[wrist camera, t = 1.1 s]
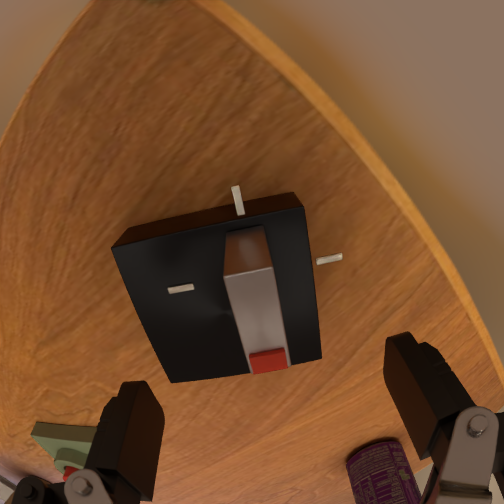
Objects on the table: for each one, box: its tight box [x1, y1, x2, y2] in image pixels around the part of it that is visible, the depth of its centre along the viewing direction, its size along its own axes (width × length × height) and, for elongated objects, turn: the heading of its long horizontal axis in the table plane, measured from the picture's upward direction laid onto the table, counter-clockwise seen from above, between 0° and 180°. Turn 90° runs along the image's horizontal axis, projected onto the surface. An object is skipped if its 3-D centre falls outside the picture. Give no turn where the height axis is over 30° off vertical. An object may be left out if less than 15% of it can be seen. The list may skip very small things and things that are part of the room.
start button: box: [63, 466, 79, 482], centre depth 24 cm, size 4×4×2 cm
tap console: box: [111, 185, 342, 383], centre depth 18 cm, size 12×12×3 cm
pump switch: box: [31, 422, 97, 475], centre depth 27 cm, size 10×10×4 cm
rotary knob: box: [223, 225, 291, 374], centre depth 14 cm, size 5×2×5 cm, turn 11°
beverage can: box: [346, 442, 422, 504], centre depth 25 cm, size 7×7×12 cm
